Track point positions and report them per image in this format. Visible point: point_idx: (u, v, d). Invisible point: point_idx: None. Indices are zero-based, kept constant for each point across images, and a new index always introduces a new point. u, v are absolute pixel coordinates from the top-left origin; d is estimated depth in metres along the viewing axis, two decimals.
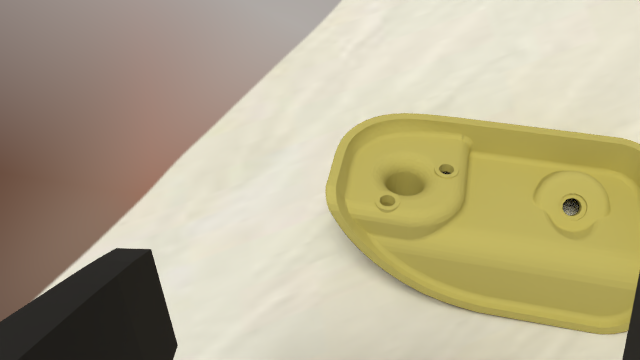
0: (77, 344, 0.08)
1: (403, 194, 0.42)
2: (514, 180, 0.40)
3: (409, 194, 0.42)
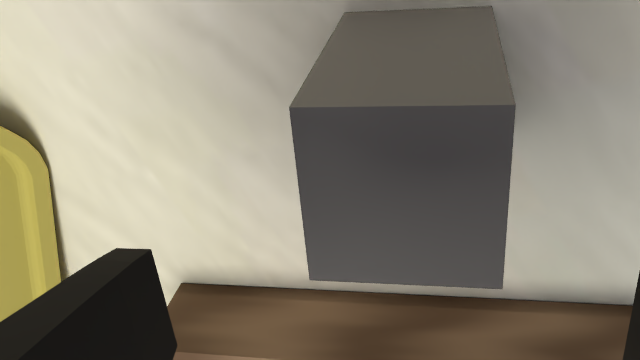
0: (77, 344, 0.08)
1: None
2: None
3: None
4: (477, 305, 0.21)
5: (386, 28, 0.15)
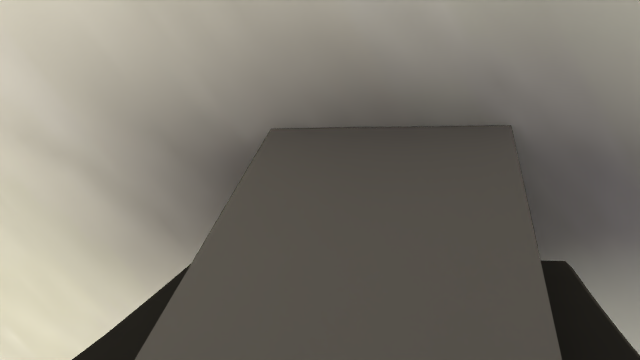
0: None
1: None
2: None
3: None
4: None
5: (330, 180, 0.09)
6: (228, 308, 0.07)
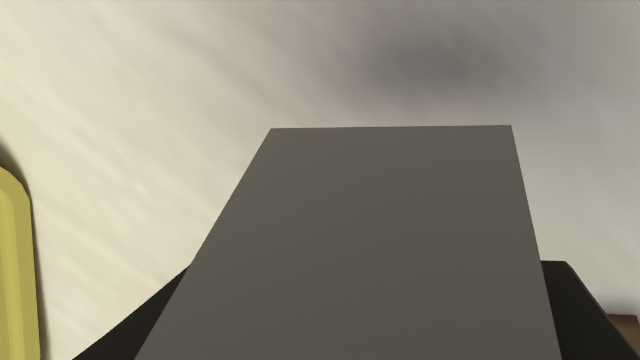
0: None
1: None
2: None
3: None
4: None
5: (330, 180, 0.09)
6: (228, 307, 0.07)
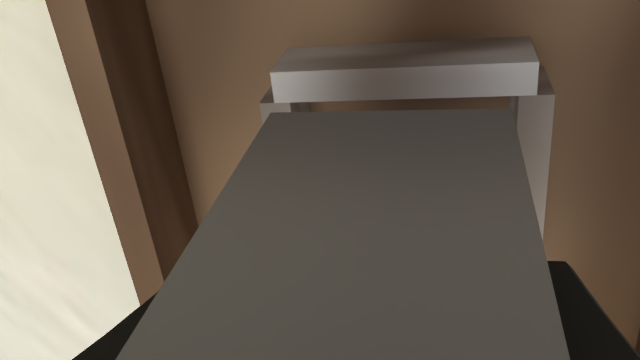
0: None
1: None
2: None
3: None
4: None
5: (329, 161, 0.09)
6: (227, 283, 0.06)
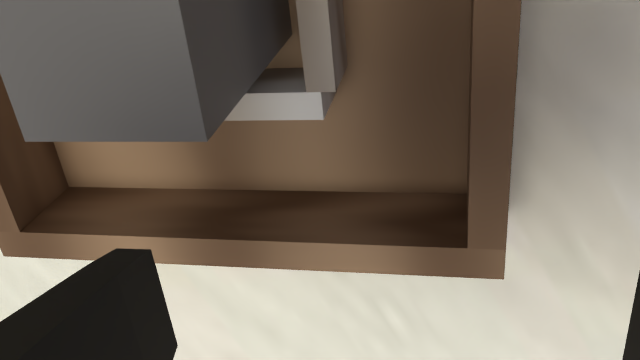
0: (77, 344, 0.08)
1: None
2: None
3: None
4: None
5: None
6: None
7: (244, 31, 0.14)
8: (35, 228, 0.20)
